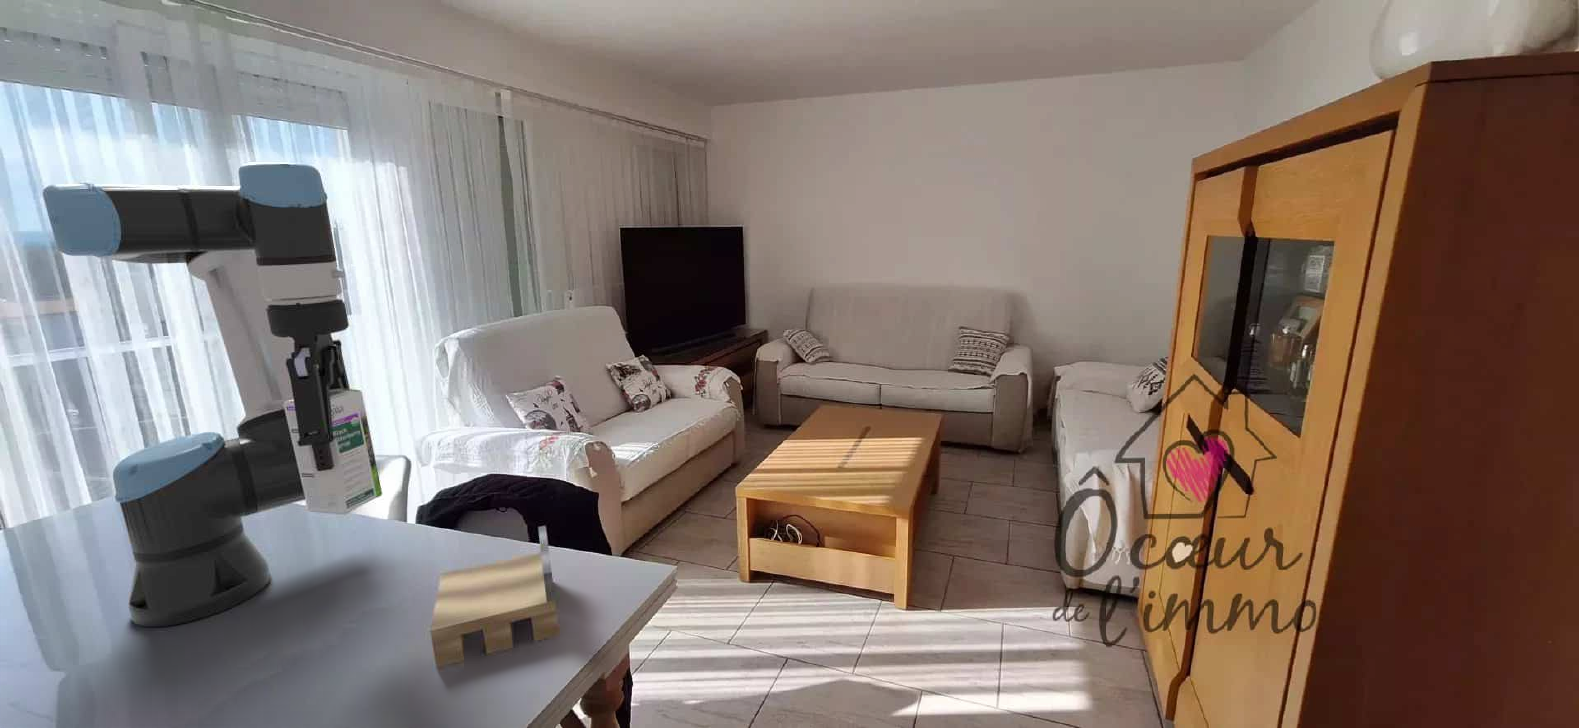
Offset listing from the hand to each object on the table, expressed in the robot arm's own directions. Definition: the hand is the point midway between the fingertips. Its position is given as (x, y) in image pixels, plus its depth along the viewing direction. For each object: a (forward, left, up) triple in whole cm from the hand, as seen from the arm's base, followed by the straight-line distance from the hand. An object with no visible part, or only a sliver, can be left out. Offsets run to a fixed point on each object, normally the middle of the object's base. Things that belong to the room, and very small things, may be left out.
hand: (340, 480), depth 80 cm
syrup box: (0, 0, -3) cm, 3 cm away
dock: (+6, +16, -21) cm, 27 cm away
